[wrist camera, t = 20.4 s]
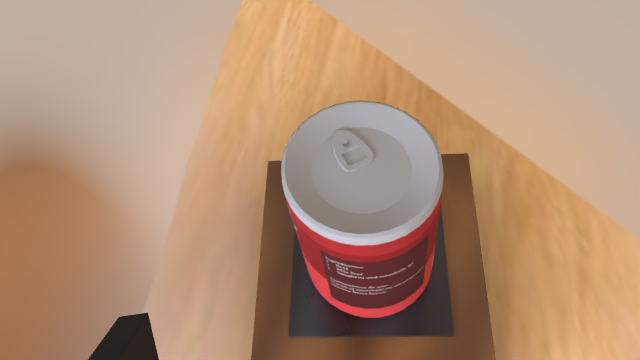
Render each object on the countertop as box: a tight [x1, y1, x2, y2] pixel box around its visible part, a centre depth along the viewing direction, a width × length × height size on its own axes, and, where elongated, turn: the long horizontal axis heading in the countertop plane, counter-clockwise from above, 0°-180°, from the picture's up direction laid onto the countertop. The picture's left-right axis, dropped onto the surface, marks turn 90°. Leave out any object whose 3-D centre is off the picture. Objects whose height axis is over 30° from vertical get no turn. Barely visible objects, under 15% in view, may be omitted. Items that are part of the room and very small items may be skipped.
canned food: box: [281, 101, 444, 318], centre depth 32 cm, size 8×8×11 cm
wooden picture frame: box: [251, 153, 495, 360], centre depth 39 cm, size 14×16×4 cm
